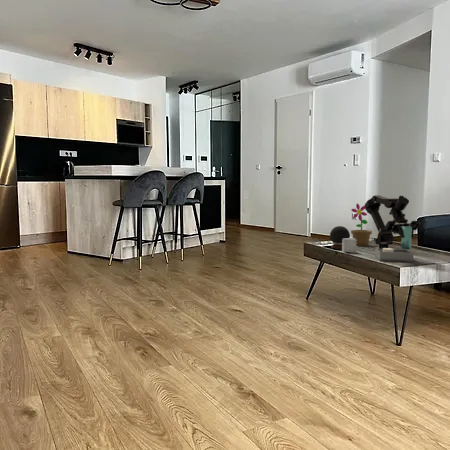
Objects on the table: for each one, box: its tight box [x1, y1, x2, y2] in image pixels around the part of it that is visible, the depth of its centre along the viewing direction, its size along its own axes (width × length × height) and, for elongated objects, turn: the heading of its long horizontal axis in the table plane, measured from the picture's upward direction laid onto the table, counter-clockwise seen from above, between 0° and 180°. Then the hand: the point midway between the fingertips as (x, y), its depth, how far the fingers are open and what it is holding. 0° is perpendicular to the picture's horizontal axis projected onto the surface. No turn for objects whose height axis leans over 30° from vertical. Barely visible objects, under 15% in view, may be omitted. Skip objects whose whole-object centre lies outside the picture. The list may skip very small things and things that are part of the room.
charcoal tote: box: [374, 248, 414, 263], centre depth 239 cm, size 14×18×5 cm
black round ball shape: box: [329, 225, 351, 250], centre depth 285 cm, size 13×13×15 cm
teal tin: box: [400, 226, 413, 250], centre depth 233 cm, size 5×5×12 cm
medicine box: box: [341, 237, 357, 254], centre depth 266 cm, size 8×4×9 cm, turn 92°
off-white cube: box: [382, 247, 395, 252], centre depth 239 cm, size 5×5×5 cm
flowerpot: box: [350, 203, 373, 247], centre depth 301 cm, size 14×14×30 cm
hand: (407, 237), depth 232 cm, fingers closed on teal tin, 5 cm apart
